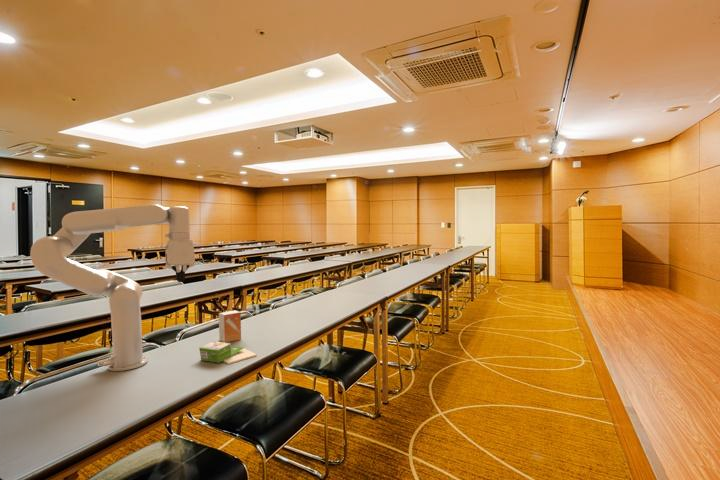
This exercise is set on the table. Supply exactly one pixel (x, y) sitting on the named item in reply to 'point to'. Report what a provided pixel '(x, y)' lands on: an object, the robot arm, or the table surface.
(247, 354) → the mat
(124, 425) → the table surface
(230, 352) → the ink box
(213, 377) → the table surface
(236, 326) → the small box
